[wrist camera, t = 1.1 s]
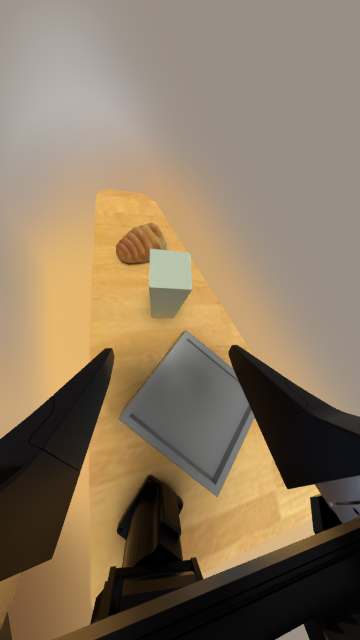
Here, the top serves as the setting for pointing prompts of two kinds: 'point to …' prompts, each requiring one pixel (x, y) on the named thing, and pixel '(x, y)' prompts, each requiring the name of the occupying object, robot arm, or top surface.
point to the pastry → (140, 243)
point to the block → (168, 281)
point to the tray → (192, 412)
